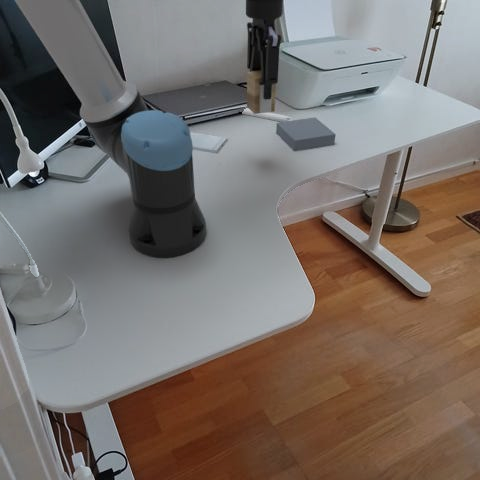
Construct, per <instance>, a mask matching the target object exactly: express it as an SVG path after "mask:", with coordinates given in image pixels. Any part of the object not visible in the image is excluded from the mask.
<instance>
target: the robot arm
mask: <svg viewBox="0 0 480 480" xmlns="http://www.w3.org/2000/svg"><path fill="white" fill-rule="evenodd" d="M14 2H15V3H16V5H17V6H18V8H19V9H20V11H21V12H22V14H23V16H24V17H25V18H26V20H27V22H28V23H29V25H30V26H31V28H32V29H33V32H34V33H35V34H36V35H37V37H38V38H39V40H40V41H41V43H42V45H43V46H44V47H45V49H46V51H47V52H48V54H49V55H50V57H51V58H52V59H53V62H54V63H55V64H56V66H57V67H58V69H59V70H60V73H62V75H63V76H64V78H65V80H66V81H67V83H68V84H69V86H70V87H71V89H72V90H73V92H74V93H75V95H76V96H77V98H78V99H79V101H80V103H81V107H80V109H79V117H80V118H81V119H82V121H83V122H84V123H85V125H86V127H87V128H88V132H89V134H90V137H91V139H92V141H93V142H94V143H95V145H96V147H97V148H98V149H100V150H101V151H102V152H103V153H105V154H106V155H107V157H109V158H110V160H112V161H113V162H114V163H115V164H116V165H117V166H118V167H119V168H120V169H122V170H123V172H124V173H126V174H127V177H128V179H129V185H130V191H131V196H132V198H131V199H132V209H131V216H130V220H129V224H128V234H129V235H128V236H129V240H130V243H131V245H132V246H133V248H134V249H136V250H137V251H138V252H140V253H142V254H144V255H146V256H149V257H155V258H171V257H177V256H182V255H184V254H188V253H189V252H191V251H193V250H195V249H196V248H198V247H199V246H200V245H201V244H202V243H203V242H204V241H205V238H206V235H207V224H206V223H207V222H206V218H205V216H204V214H203V212H202V210H201V207H200V206H199V203H198V201H197V198H196V193H195V192H196V191H195V190H196V189H195V176H194V175H195V174H194V161H193V160H194V158H193V151H194V150H193V145H192V139H191V135H190V132H191V131H190V129H189V125H188V123H186V121H185V120H184V119H183V118H181V117H180V116H179V115H176V114H174V113H171V112H169V111H166V112H164V111H163V110H155V109H153V110H150V109H149V108H148V107H147V104H146V103H145V101H144V99H143V97H142V95H141V93H140V92H139V90H138V87H137V86H136V84H134V83H132V82H129V81H125V80H124V79H123V78H122V75H121V73H120V72H119V70H118V69H117V67H116V65H115V63H114V60H113V59H112V58H111V56H110V54H109V52H108V50H107V48H106V47H105V45H104V43H103V41H102V39H101V37H100V36H99V33H98V32H97V29H95V26H94V25H93V23H92V21H91V19H90V18H89V17H90V16H89V15H88V14H87V12H86V10H85V8H84V7H83V4H82V3H81V1H80V0H14ZM283 2H284V0H245V15H246V17H247V18H249V19H251V20H252V21H251V22H247V23H246V28H247V51H246V52H247V59H246V61H247V62H246V64H247V65H246V68H247V70H249V72H250V71H260V70H261V74H262V82H259V85H260V99H259V112H260V113H265V112H270V113H272V112H271V106H272V86H273V84H276V85H277V84H278V82H279V65H280V64H279V63H280V62H279V61H280V59H279V58H280V46H281V41H282V35H281V34H276V25H275V22H276V20H277V19H280V18H281V17H282V15H283V9H284V8H283V6H284V3H283Z"/></svg>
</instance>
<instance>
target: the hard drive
mask: <svg viewBox="0 0 480 480" xmlns="http://www.w3.org/2000/svg"><path fill="white" fill-rule="evenodd" d="M190 135H191V139H192V145H193V151H200V152H206V153H212V154H218V153H220V151H221V150H222V149H223V147H224V146H225V144H227V143H228V141H229V139H228V137H223V136H216V135H209V134H204V133H197V132H192V131H190Z"/></svg>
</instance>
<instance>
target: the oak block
mask: <svg viewBox="0 0 480 480" xmlns="http://www.w3.org/2000/svg"><path fill="white" fill-rule="evenodd" d="M246 73H247V75H246V108H249V109H250V110H251V111H252V112H253V113H254V114H258V113H260V112H259V99H260V85H259V82H262V74H261V70H260V71H250V70H249V71H246ZM276 89H277V83H276V84H273V86H272V106H271V112H270V113H275V110H276V109H275V106H276V91H277V90H276ZM265 113H266V112H265Z"/></svg>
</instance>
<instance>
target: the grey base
mask: <svg viewBox="0 0 480 480" xmlns="http://www.w3.org/2000/svg"><path fill="white" fill-rule="evenodd" d="M292 120H293V119H292ZM275 129H276V130H275V133H276V135H278V136H279V137H280V138H281V140H283V142H284V143H286V145H287V146H288V147H289V148H290V149H291V150H292V151H293V152H297V151H302V150H309V149H313V148H315V149H316V148H321V147H327V146H333V145H334V146H335V141H336V133H335V132H334V131H332V129H330V128H329V127H327V125H325V124H324V123H323V122H321V121H320V120H319V119H318V118H317V117H314V116H313V117H309V118H302V119H301V118H300V119H295V120H293V121H286V122H279V121H278V122H276V128H275Z"/></svg>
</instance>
